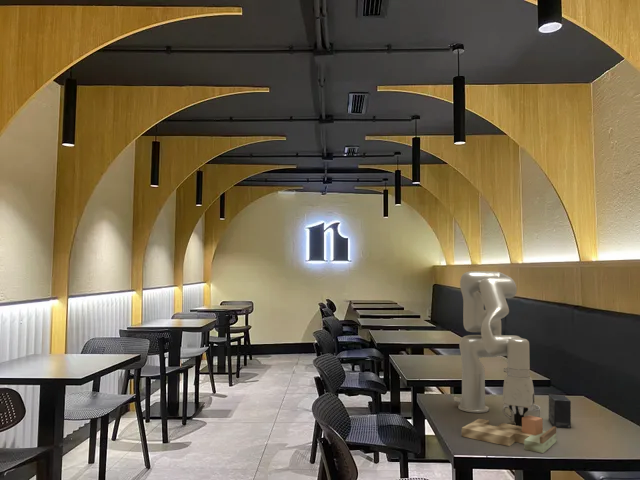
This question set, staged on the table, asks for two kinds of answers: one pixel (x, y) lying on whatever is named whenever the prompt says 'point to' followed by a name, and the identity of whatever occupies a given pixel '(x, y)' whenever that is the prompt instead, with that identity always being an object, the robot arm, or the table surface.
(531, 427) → the block
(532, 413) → the teacup
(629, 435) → the table surface
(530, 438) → the board
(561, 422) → the small box
